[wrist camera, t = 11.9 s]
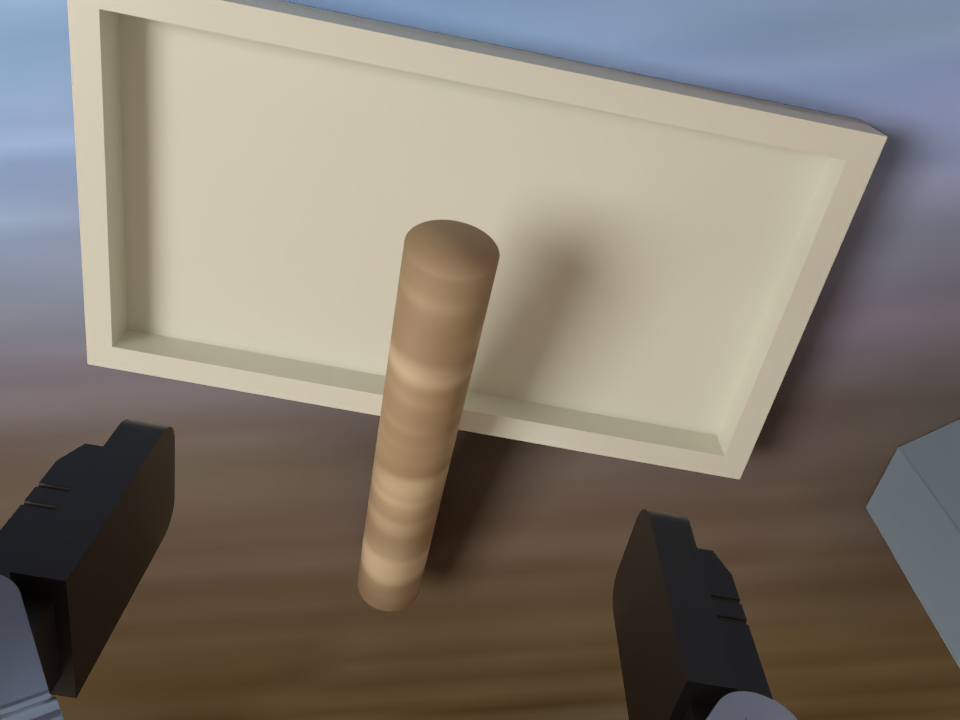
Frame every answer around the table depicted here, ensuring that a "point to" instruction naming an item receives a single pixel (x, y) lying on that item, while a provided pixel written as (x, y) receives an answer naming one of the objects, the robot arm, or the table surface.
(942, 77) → the table surface
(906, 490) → the cup
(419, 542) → the pin
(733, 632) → the robot arm
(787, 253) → the tray
